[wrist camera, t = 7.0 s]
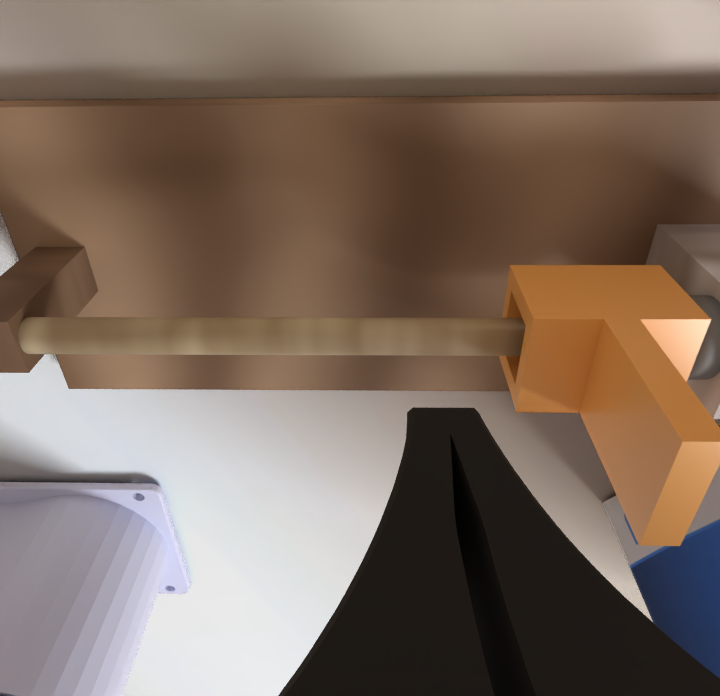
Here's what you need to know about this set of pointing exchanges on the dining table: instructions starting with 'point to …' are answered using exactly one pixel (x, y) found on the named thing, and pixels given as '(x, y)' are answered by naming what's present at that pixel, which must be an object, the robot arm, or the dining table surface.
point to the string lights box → (681, 578)
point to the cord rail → (337, 232)
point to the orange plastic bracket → (620, 381)
